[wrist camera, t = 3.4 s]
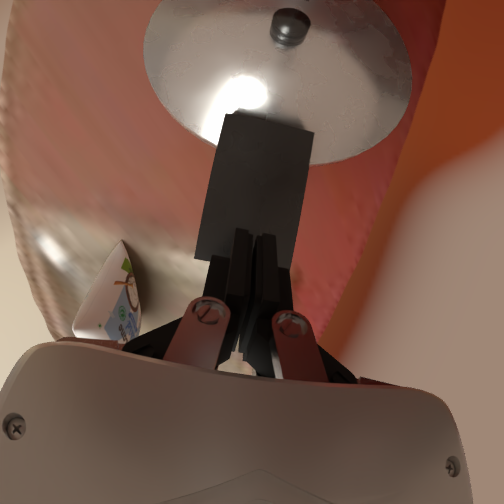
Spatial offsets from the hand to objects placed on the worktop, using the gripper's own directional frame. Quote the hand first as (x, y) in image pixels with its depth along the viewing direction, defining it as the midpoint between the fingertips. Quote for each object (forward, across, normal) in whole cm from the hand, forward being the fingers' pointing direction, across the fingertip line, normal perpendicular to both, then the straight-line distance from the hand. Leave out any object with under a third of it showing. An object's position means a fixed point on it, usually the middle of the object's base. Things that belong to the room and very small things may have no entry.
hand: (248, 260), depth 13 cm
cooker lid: (+11, 0, -8) cm, 13 cm away
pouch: (+29, +17, +31) cm, 46 cm away
